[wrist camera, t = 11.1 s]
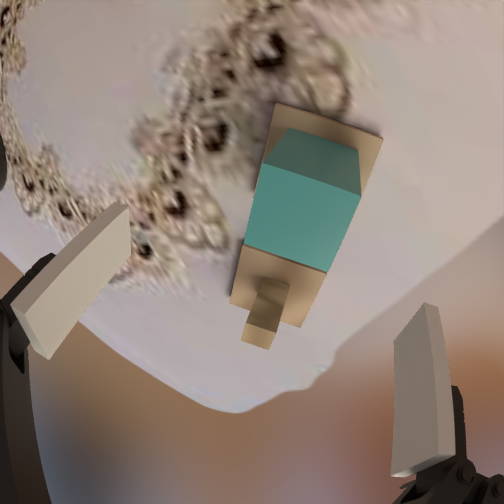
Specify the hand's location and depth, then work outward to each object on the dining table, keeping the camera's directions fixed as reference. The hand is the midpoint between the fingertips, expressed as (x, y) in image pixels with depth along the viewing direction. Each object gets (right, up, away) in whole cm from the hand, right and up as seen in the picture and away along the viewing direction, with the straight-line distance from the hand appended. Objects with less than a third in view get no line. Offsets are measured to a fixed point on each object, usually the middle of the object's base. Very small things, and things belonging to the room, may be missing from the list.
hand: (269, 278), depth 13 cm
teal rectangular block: (+4, +7, +10) cm, 13 cm away
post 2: (+2, -2, +19) cm, 19 cm away
